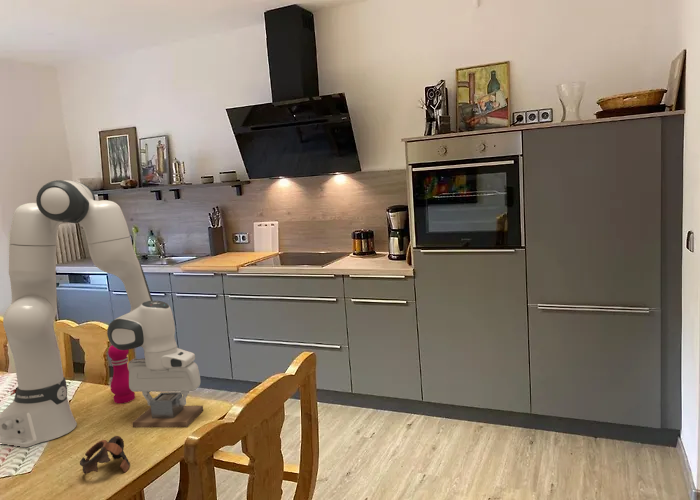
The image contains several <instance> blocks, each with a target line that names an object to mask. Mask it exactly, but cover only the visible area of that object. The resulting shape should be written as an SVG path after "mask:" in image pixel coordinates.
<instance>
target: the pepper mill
mask: <svg viewBox="0 0 700 500" xmlns="http://www.w3.org/2000/svg"><path fill="white" fill-rule="evenodd" d="M129 351H130V349H129V350H119V349H117V348H115V347H114V346H113V345H112V344H110V346H109V348H108V350H107V354H108V357H109V358H110V364H111V365H112V368H113V375H112V379H111V381H110V392H111V393H112V394H113V397H112V398H113V403H115V404H119V405H120V404H126V403H130V402H132V401H134V400H135V399H136V394H135V392H133V391H131V389H130V388H129V369H128V363H129V360H128V359H129V357H128V355H129Z"/></svg>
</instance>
